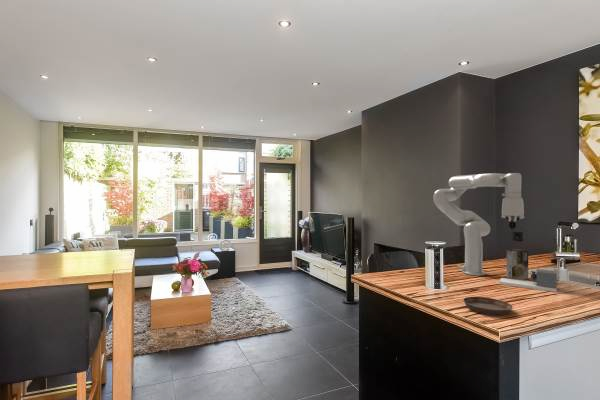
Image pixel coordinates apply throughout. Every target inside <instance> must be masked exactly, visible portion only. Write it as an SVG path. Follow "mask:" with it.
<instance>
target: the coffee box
mask: <svg viewBox="0 0 600 400" xmlns="http://www.w3.org/2000/svg"><path fill="white" fill-rule="evenodd" d="M506 277H507V278H509V279H514V280H522V279H523V280H524V279H525V280H529V250H526V249H522V248H520V249H519V248H507V249H506Z"/></svg>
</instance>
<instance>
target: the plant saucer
mask: <svg viewBox="0 0 600 400" xmlns="http://www.w3.org/2000/svg"><path fill="white" fill-rule="evenodd" d="M462 301H463V303H464V305H465V306H466V307H467V308H468V309H469V310H471V311H473V312H476V313H479V314H484V315H489V316H490V315H491V316H503V315H507V314H508V313H510V311H512V310H513V305H512V304H511V303H509V302H506V301H503V300H500V299H496V298H493V297H485V296H468V297H467V296H466V297H464V298H463V299H462Z"/></svg>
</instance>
